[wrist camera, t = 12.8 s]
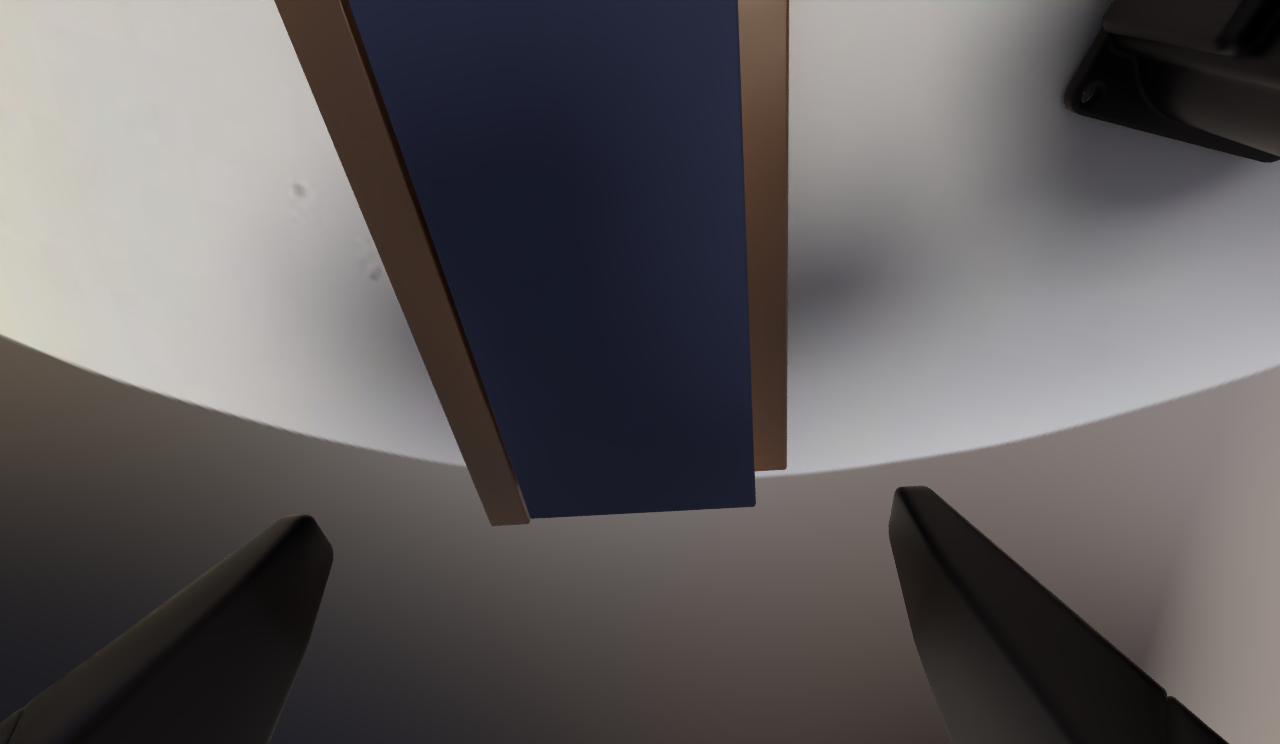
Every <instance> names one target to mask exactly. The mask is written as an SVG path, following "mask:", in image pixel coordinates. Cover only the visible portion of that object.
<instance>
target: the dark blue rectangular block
mask: <svg viewBox="0 0 1280 744" xmlns="http://www.w3.org/2000/svg"><path fill="white" fill-rule="evenodd" d="M348 1H349V4H350V7H351V9H352V12H353V15H354V18H355V21H356V24H357V27H358V29H359V32H360V35H361V38H362V41H363V44H364V46H365V49H366V52H367V55H368V58H369V61H370V63H371V66H372V69H373V72H374V75H375V78H376V81H377V83H378V86H379V89H380V92H381V95H382V98H383V100H384V103H385V106H386V109H387V112H388V115H389V117H390V120H391V123H392V126H393V129H394V132H395V135H396V137H397V140H398V143H399V146H400V149H401V152H402V154H403V157H404V160H405V163H406V166H407V169H408V171H409V174H410V177H411V180H412V183H413V186H414V189H415V191H416V194H417V197H418V200H419V203H420V206H421V208H422V211H423V214H424V217H425V220H426V223H427V225H428V228H429V231H430V234H431V237H432V240H433V243H434V245H435V248H436V251H437V254H438V257H439V260H440V262H441V265H442V268H443V271H444V274H445V277H446V279H447V282H448V285H449V288H450V291H451V294H452V297H453V299H454V302H455V305H456V308H457V311H458V314H459V316H460V319H461V322H462V325H463V328H464V331H465V334H466V336H467V339H468V342H469V345H470V348H471V351H472V353H473V356H474V359H475V362H476V365H477V368H478V370H479V373H480V376H481V379H482V382H483V385H484V388H485V390H486V393H487V396H488V399H489V402H490V405H491V407H492V410H493V413H494V416H495V419H496V422H497V424H498V427H499V430H500V433H501V436H502V439H503V442H504V444H505V447H506V450H507V453H508V456H509V459H510V461H511V464H512V467H513V470H514V473H515V476H516V478H517V481H518V484H519V487H520V490H521V493H522V496H523V498H524V501H525V504H526V507H527V510H528V513H529V515H530V518H532V519H534V518H553V517H569V516H570V517H571V516H590V515H609V514H627V513H646V512H663V511H681V510H682V511H683V510H700V509H718V508H719V509H720V508H738V507H754V506H755V504H756V498H755V469H754V441H753V412H752V384H751V356H750V327H749V299H748V271H747V242H746V214H745V186H744V157H743V129H742V101H741V72H740V44H739V15H738V0H348Z"/></svg>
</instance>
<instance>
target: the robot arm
mask: <svg viewBox="0 0 1280 744" xmlns="http://www.w3.org/2000/svg"><path fill="white" fill-rule="evenodd" d="M1103 23H1104V25H1103V27H1102V29H1101V30H1100V32H1099V34H1098V36H1097V37H1096V39H1095V41H1094V42H1093V44H1092V46H1091V48H1090V49H1089V51H1088V53H1087V54H1086V56H1085V58H1084V60H1083V61H1082V63H1081V65H1080V66H1079V68H1078V70H1077V72H1076V73H1075V75H1074V77H1073V78H1072V80H1071V82H1070V84H1069V85H1068V87H1067V89H1066V92H1065V94H1064V104H1065V106H1066V108H1067V109H1068V110H1070V111H1072V112H1074V113H1077V114H1079V115H1082V116H1086V117H1090V118H1094V119H1098V120H1102V121H1106V122H1109V123H1113V124H1117V125H1121V126H1125V127H1129V128H1133V129H1137V130H1140V131H1144V132H1148V133H1152V134H1156V135H1160V136H1164V137H1167V138H1171V139H1175V140H1179V141H1183V142H1187V143H1191V144H1195V145H1198V146H1202V147H1206V148H1210V149H1214V150H1218V151H1222V152H1226V153H1229V154H1233V155H1237V156H1241V157H1245V158H1249V159H1253V160H1257V161H1260V162H1269V163H1271V162H1274V161H1278V160H1280V0H1113V2H1112V3H1111V5H1110V7H1109V9H1108V10H1107V12H1106V14H1105V15H1104V18H1103ZM1093 85H1094V87H1095V90H1094V93H1093V95H1092V96H1091V97H1090V99H1089V100H1087V101H1085V102H1082V96H1083V93H1084V92H1085V91H1086V90H1087V88H1089V87H1091V86H1093ZM889 538H890V543H891V547H892V551H893V555H894V559H895V564H896V568H897V572H898V576H899V580H900V584H901V588H902V593H903V597H904V601H905V605H906V608H907V613H908V617H909V621H910V625H911V629H912V633H913V637H914V641H915V644H916V647H917V650H918V653H919V656H920V659H921V661H922V664H923V667H924V670H925V673H926V675H927V678H928V680H929V683H930V686H931V689H932V692H933V694H934V697H935V700H936V703H937V705H938V708H939V711H940V714H941V716H942V719H943V721H944V724H945V727H946V730H947V733H948V735H949V738H950V741H951V744H1229V743H1228V742H1226V741H1225V740H1224V739H1223V738H1222V737H1221V736H1219V735H1218V734H1217V733H1216V732H1215V731H1213V730H1212V729H1211V728H1210V727H1208V726H1207V725H1206V724H1205V723H1204V722H1203V721H1201V720H1200V719H1199V718H1198V717H1197V716H1196V715H1194V714H1193V713H1192V712H1191V711H1190V710H1188V709H1187V708H1186V707H1185V706H1184V705H1183V704H1182V703H1180V702H1179V701H1178V700H1177V699H1176V698H1174V697H1172V696H1168V697H1167V693H1166V690H1165V689H1164V688H1163V687H1161V686H1160V685H1159V684H1158V683H1157V682H1156V681H1154V680H1153V679H1152V678H1151V677H1150V676H1149V675H1147V674H1146V673H1145V672H1144V671H1143V670H1142V669H1140V668H1139V667H1138V666H1137V665H1136V664H1135V663H1133V662H1132V661H1131V660H1130V659H1129V658H1128V657H1126V656H1125V655H1124V654H1123V653H1122V652H1120V651H1119V650H1118V649H1117V648H1116V647H1115V646H1114V645H1112V644H1111V643H1110V642H1109V641H1108V640H1106V639H1105V638H1104V637H1103V636H1102V635H1101V634H1099V633H1098V632H1097V631H1096V630H1095V629H1094V628H1093V627H1091V626H1090V625H1089V624H1088V623H1087V622H1085V621H1084V620H1083V619H1082V618H1081V617H1080V616H1079V615H1077V614H1076V613H1075V612H1074V611H1073V610H1071V609H1070V608H1069V607H1068V606H1067V605H1066V604H1065V603H1063V602H1062V601H1061V600H1060V599H1059V598H1058V597H1056V596H1055V595H1054V594H1053V593H1052V592H1051V591H1049V590H1048V589H1047V588H1046V587H1045V586H1044V585H1042V584H1041V583H1040V582H1039V581H1038V580H1037V579H1035V578H1034V577H1033V576H1032V575H1031V574H1030V573H1028V572H1027V571H1026V570H1025V569H1024V568H1022V567H1021V566H1020V565H1019V564H1018V563H1017V562H1016V561H1014V560H1013V559H1012V558H1011V557H1010V556H1008V555H1007V554H1006V553H1005V552H1004V551H1003V550H1002V549H1000V548H999V547H998V546H997V545H995V543H993V542H992V541H991V540H990V539H989V538H987V537H986V536H985V535H984V534H983V533H982V532H980V531H979V530H978V529H977V528H976V527H975V526H973V525H972V524H971V523H970V522H969V521H968V520H966V519H965V518H964V517H963V516H962V515H961V514H959V513H958V512H957V511H956V510H955V509H954V508H952V507H951V506H950V505H949V504H948V503H947V502H945V501H944V500H943V499H942V498H941V497H940V496H938V495H937V494H936V493H935V492H934V491H933V490H931V489H930V488H928V487H926V486H907V487H899V488H898V489H896V491H895V494H894V499H893V504H892V510H891V516H890V521H889ZM332 562H333V549H332V546H331V544H330V542H329V541H328V539H327V538H326V536H325V534H324V533H323V531H322V530H321V528H320V526H319V525H318V523H317V522H316V520H315V519H314V518H313V517H312V516H310V515H306V514H304V515H303V514H302V515H287V516H283V517H281V518H279V519H278V520H276V521H275V522H274V523H272V524H271V525H270V526H268V527H267V528H265V529H264V530H263V531H261V532H260V533H259V534H257V535H256V536H255V537H253V538H252V539H251V540H249V541H248V542H246V543H245V544H244V545H243V546H241V547H240V548H238V549H237V550H236V551H235V552H233V553H231V554H230V555H229V556H227V557H226V558H225V559H223V560H222V561H221V562H219V563H218V564H216V565H215V566H214V567H212V568H211V569H210V570H208V571H207V572H206V573H204V574H203V575H201V576H200V577H199V578H198V579H196V580H195V581H193V582H192V583H191V584H189V585H188V586H187V587H185V588H184V589H182V590H181V591H180V592H178V593H177V594H176V595H174V596H173V597H172V598H170V599H169V600H168V601H166V602H165V603H163V604H162V605H161V606H160V607H158V608H157V609H155V610H154V611H153V612H151V613H150V614H148V615H147V616H146V617H145V618H143V619H142V620H140V621H139V622H138V623H136V624H135V625H134V626H132V627H131V628H129V629H128V630H127V631H125V632H124V633H123V634H121V635H120V636H119V637H117V638H116V639H115V640H113V641H112V642H110V643H109V644H108V645H106V646H105V647H104V648H102V649H101V650H100V651H98V652H97V653H95V654H94V655H93V656H91V657H90V658H89V659H87V660H86V661H85V662H83V663H82V664H80V665H79V666H78V667H76V668H75V669H74V670H72V671H71V672H70V673H68V674H67V675H66V676H64V677H63V678H62V679H60V680H59V681H57V682H56V683H55V684H53V685H52V686H51V687H49V688H48V689H46V690H45V691H44V692H42V693H41V694H40V695H38V696H37V697H36V698H34V699H33V700H32V701H30V702H29V703H28V704H27V705H26V707H25V708H21V709H19V710H18V711H16V712H15V713H14V714H13V715H11V716H10V717H8V718H7V719H6V720H4V721H3V722H2V723H0V744H269V741H270V739H271V736H272V734H273V731H274V729H275V727H276V724H277V721H278V719H279V717H280V714H281V712H282V709H283V707H284V704H285V702H286V699H287V697H288V695H289V692H290V690H291V687H292V685H293V682H294V680H295V678H296V675H297V673H298V670H299V667H300V665H301V662H302V660H303V657H304V655H305V651H306V648H307V645H308V642H309V639H310V636H311V633H312V630H313V626H314V623H315V619H316V616H317V613H318V610H319V606H320V603H321V599H322V596H323V593H324V590H325V586H326V582H327V579H328V576H329V573H330V569H331V566H332Z"/></svg>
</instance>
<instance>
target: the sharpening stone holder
mask: <svg viewBox="0 0 1280 744" xmlns="http://www.w3.org/2000/svg"><path fill="white" fill-rule="evenodd" d="M274 1H275V3H276V6H277V8H278V11H279V13H280V15H281V18H282V20H283V23H284V25H285V27H286V30H287V32H288V35H289V37H290V40H291V42H292V44H293V47H294V49H295V52H296V54H297V57H298V59H299V61H300V64H301V66H302V69H303V71H304V73H305V76H306V78H307V81H308V83H309V86H310V88H311V90H312V93H313V95H314V98H315V100H316V103H317V105H318V107H319V110H320V112H321V115H322V117H323V119H324V122H325V124H326V127H327V129H328V132H329V134H330V136H331V139H332V141H333V144H334V146H335V149H336V151H337V153H338V156H339V158H340V161H341V163H342V165H343V168H344V170H345V173H346V175H347V178H348V180H349V182H350V185H351V187H352V190H353V192H354V195H355V197H356V199H357V202H358V204H359V207H360V209H361V211H362V214H363V216H364V219H365V221H366V224H367V226H368V228H369V231H370V233H371V236H372V238H373V241H374V243H375V245H376V248H377V250H378V253H379V255H380V257H381V260H382V262H383V265H384V267H385V270H386V272H387V274H388V277H389V279H390V282H391V284H392V287H393V289H394V291H395V294H396V296H397V299H398V301H399V303H400V306H401V308H402V311H403V313H404V316H405V318H406V320H407V323H408V325H409V328H410V330H411V333H412V335H413V337H414V340H415V342H416V345H417V347H418V349H419V352H420V354H421V357H422V359H423V362H424V364H425V366H426V369H427V371H428V374H429V376H430V379H431V381H432V383H433V386H434V388H435V391H436V393H437V395H438V398H439V400H440V403H441V405H442V408H443V410H444V412H445V415H446V417H447V420H448V422H449V425H450V427H451V429H452V432H453V434H454V437H455V439H456V442H457V444H458V446H459V449H460V451H461V454H462V456H463V458H464V461H465V463H466V466H467V468H468V470H469V473H470V475H471V478H472V480H473V483H474V485H475V488H476V490H477V492H478V495H479V497H480V499H481V502H482V504H483V507H484V509H485V512H486V514H487V517H488V519H489V521H490V524H491V525H492V526H501V525H519V524H529V522H530V515H529V513H528V510H527V507H526V504H525V501H524V498H523V496H522V493H521V490H520V487H519V484H518V481H517V478H516V476H515V473H514V470H513V467H512V464H511V461H510V459H509V456H508V453H507V450H506V447H505V444H504V442H503V439H502V436H501V433H500V430H499V427H498V424H497V422H496V419H495V416H494V413H493V410H492V407H491V405H490V402H489V399H488V396H487V393H486V390H485V388H484V385H483V382H482V379H481V376H480V373H479V370H478V368H477V365H476V362H475V359H474V356H473V353H472V351H471V348H470V345H469V342H468V339H467V336H466V334H465V331H464V328H463V325H462V322H461V319H460V316H459V314H458V311H457V308H456V305H455V302H454V299H453V297H452V294H451V291H450V288H449V285H448V282H447V279H446V277H445V274H444V271H443V268H442V265H441V262H440V260H439V257H438V254H437V251H436V248H435V245H434V243H433V240H432V237H431V234H430V231H429V228H428V225H427V223H426V220H425V217H424V214H423V211H422V208H421V206H420V203H419V200H418V197H417V194H416V191H415V189H414V186H413V183H412V180H411V177H410V174H409V171H408V169H407V166H406V163H405V160H404V157H403V154H402V152H401V149H400V146H399V143H398V140H397V137H396V135H395V132H394V129H393V126H392V123H391V120H390V117H389V115H388V112H387V109H386V106H385V103H384V100H383V98H382V95H381V92H380V89H379V86H378V83H377V81H376V78H375V75H374V72H373V69H372V66H371V63H370V61H369V58H368V55H367V52H366V49H365V46H364V44H363V41H362V38H361V35H360V32H359V29H358V27H357V24H356V21H355V18H354V15H353V12H352V9H351V7H350V4H349V1H348V0H274ZM738 15H739V44H740V72H741V101H742V129H743V157H744V186H745V214H746V242H747V271H748V299H749V327H750V356H751V384H752V412H753V441H754V469H755V471H768V470H784V469H786V467H787V318H788V125H789V0H738Z"/></svg>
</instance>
